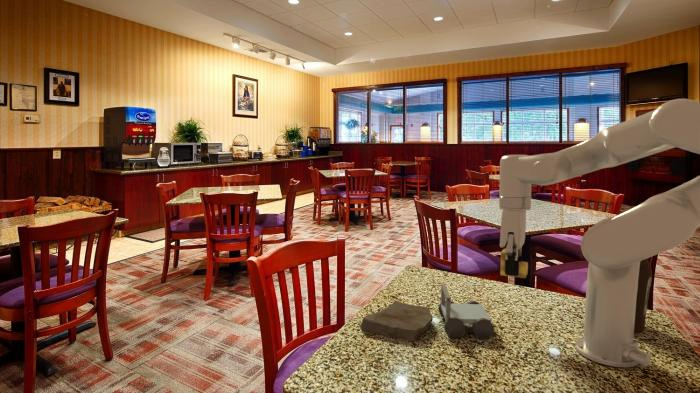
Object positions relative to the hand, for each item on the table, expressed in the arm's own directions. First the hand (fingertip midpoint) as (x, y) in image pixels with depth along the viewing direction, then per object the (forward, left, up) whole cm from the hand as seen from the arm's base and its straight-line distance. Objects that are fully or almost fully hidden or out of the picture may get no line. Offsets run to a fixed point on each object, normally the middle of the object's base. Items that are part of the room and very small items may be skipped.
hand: (513, 271), depth 105 cm
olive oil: (-12, -27, -15) cm, 33 cm away
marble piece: (+13, +27, -16) cm, 33 cm away
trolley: (+5, +12, -15) cm, 20 cm away
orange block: (0, 0, -1) cm, 1 cm away
